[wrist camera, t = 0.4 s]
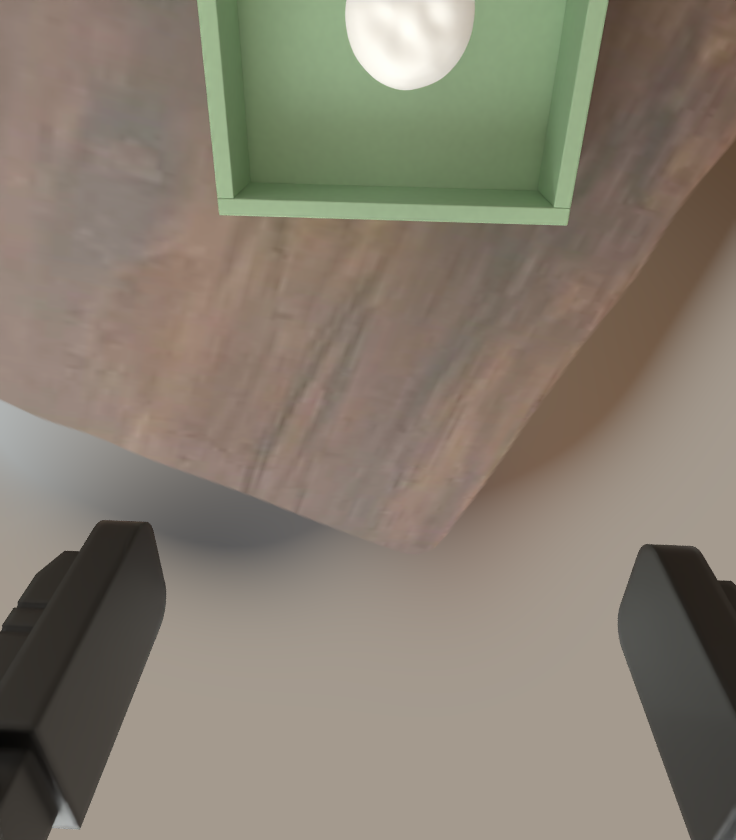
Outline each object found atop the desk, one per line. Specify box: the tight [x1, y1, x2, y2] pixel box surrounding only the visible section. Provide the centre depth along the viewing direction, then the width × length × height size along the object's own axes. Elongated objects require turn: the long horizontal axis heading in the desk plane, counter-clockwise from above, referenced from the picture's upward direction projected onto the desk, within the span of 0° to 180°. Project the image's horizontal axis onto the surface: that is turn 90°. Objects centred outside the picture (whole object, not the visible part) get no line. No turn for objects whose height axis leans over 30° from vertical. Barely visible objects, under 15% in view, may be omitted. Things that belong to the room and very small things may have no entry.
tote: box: [197, 0, 609, 225], centre depth 27 cm, size 17×17×5 cm
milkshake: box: [345, 0, 475, 90], centre depth 24 cm, size 4×5×10 cm
